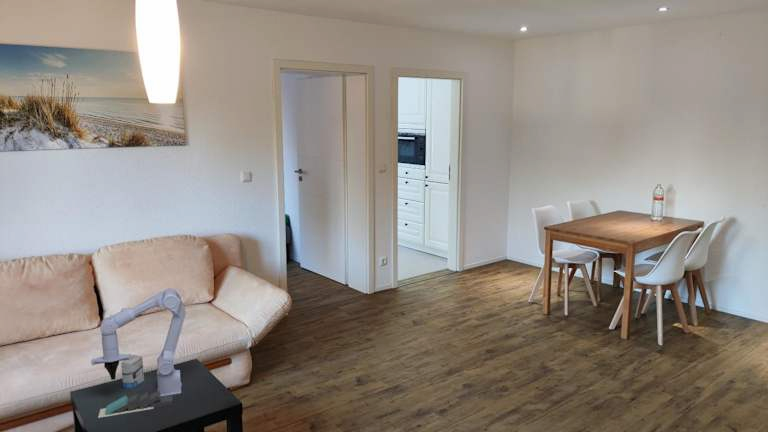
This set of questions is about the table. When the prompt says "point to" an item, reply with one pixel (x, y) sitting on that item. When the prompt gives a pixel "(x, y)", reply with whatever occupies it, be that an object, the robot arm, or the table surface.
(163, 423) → the table surface
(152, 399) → the tile
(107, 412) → the tile teal
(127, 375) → the ink box
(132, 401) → the tile
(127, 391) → the table surface
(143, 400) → the tile
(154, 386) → the table surface
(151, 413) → the table surface
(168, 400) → the tile
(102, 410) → the mat
